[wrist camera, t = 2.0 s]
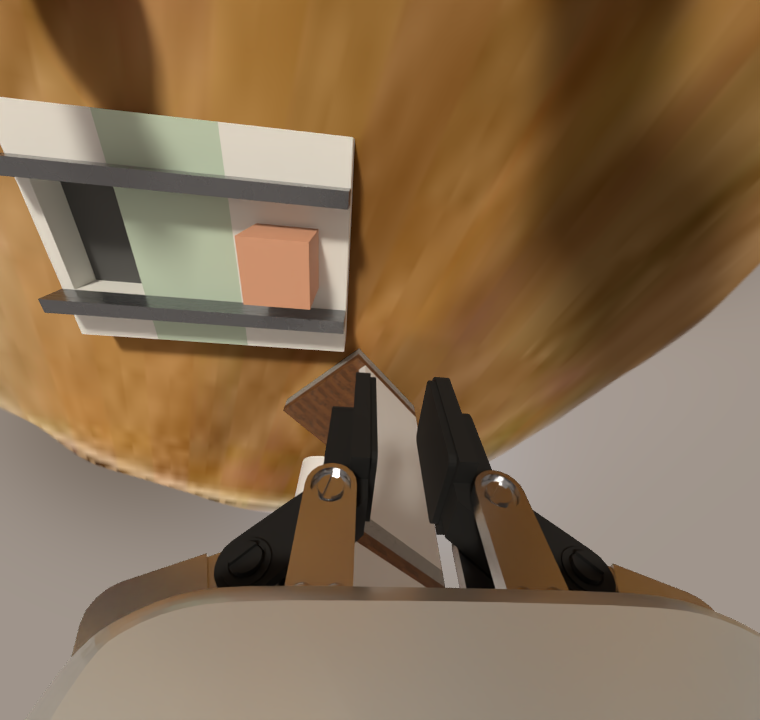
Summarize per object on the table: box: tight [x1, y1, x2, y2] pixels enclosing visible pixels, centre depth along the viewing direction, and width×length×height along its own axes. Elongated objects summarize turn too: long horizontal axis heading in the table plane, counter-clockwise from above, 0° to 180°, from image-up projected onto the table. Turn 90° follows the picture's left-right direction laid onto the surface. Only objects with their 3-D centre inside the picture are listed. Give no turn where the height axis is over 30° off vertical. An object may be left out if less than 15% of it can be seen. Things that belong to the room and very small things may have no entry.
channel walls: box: [0, 153, 351, 334], centre depth 26 cm, size 25×11×2 cm, turn 85°
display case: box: [283, 349, 445, 588], centre depth 25 cm, size 11×11×35 cm
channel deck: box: [0, 97, 355, 352], centre depth 29 cm, size 25×18×3 cm
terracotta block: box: [235, 223, 319, 310], centre depth 26 cm, size 5×5×5 cm
